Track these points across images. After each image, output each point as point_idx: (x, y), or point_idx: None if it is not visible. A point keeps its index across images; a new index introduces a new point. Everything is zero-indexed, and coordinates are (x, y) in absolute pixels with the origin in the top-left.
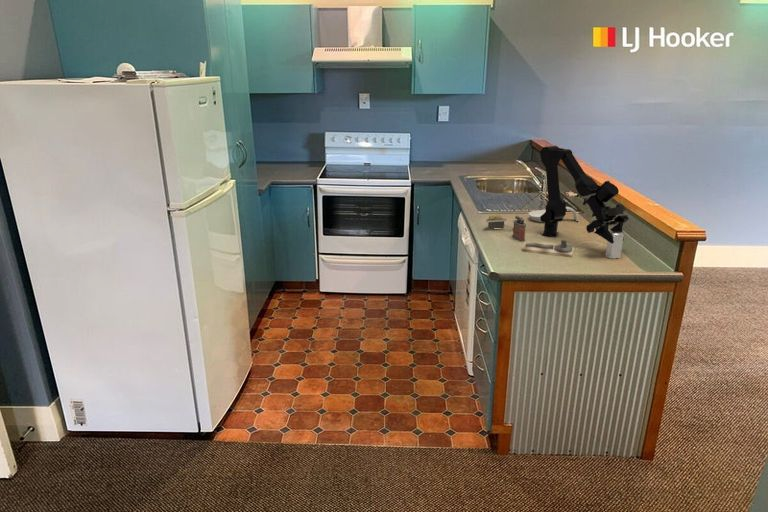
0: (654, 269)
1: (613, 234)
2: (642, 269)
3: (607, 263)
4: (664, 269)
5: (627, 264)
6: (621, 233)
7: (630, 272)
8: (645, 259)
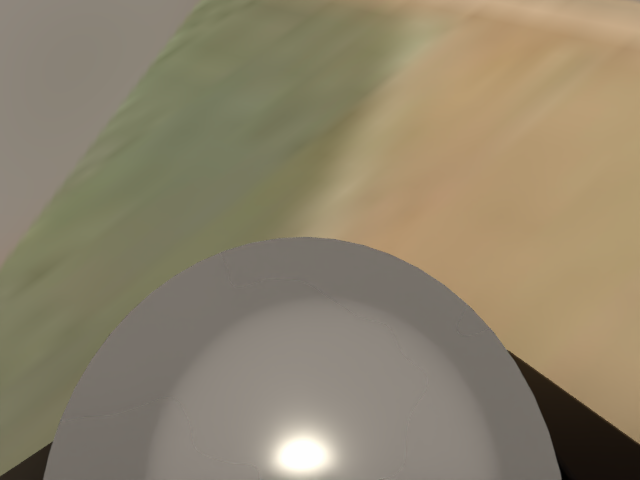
0: (296, 32)
1: (519, 382)
2: (387, 55)
3: (619, 292)
4: (230, 15)
5: (413, 186)
6: (206, 321)
7: (552, 32)
8: (137, 224)
